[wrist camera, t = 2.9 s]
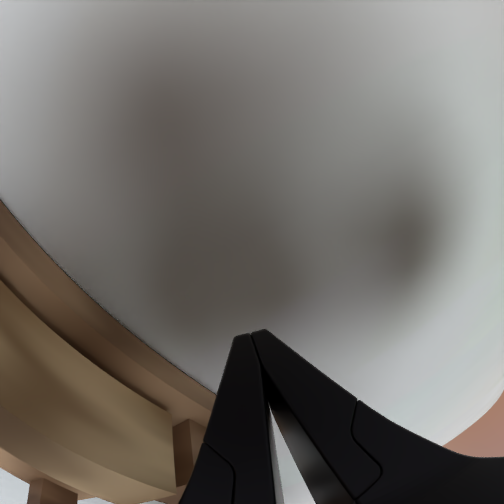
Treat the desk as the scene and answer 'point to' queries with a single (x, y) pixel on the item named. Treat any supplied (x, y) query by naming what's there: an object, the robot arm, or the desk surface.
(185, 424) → the seat
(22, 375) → the hinged leg
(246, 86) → the desk surface
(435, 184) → the desk surface
